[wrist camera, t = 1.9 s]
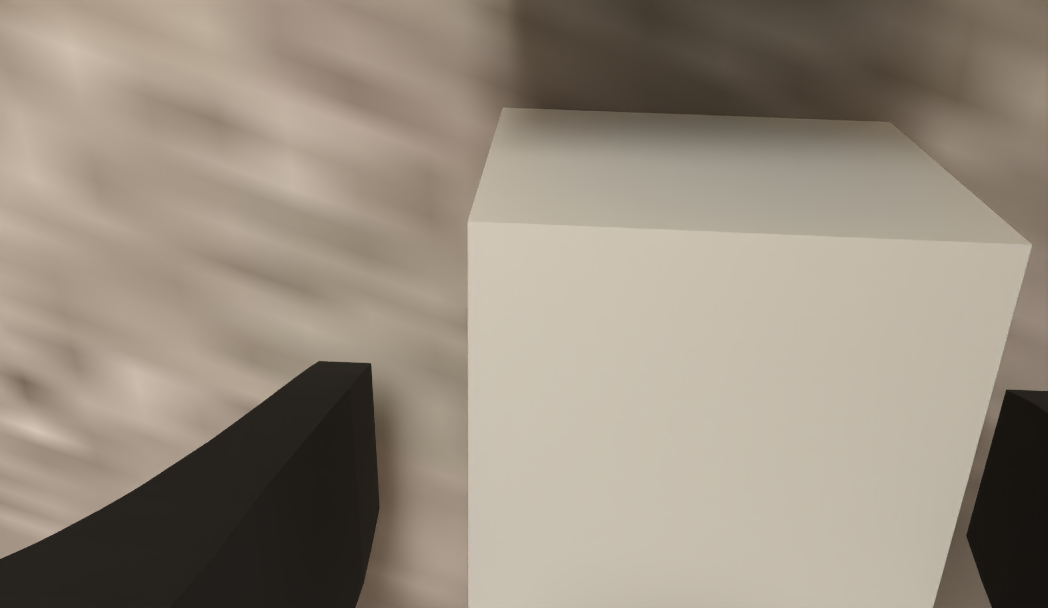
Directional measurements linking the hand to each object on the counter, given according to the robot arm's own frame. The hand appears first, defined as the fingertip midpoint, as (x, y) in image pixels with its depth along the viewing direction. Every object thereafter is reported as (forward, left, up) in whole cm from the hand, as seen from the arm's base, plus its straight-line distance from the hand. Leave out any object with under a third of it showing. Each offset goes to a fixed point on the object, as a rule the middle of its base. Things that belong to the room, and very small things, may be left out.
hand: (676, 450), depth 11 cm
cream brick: (0, 0, -2) cm, 2 cm away
